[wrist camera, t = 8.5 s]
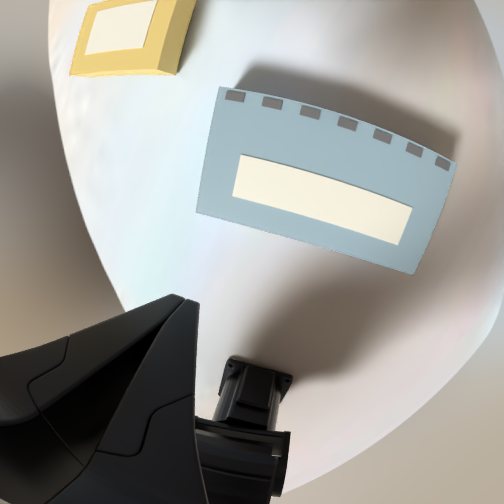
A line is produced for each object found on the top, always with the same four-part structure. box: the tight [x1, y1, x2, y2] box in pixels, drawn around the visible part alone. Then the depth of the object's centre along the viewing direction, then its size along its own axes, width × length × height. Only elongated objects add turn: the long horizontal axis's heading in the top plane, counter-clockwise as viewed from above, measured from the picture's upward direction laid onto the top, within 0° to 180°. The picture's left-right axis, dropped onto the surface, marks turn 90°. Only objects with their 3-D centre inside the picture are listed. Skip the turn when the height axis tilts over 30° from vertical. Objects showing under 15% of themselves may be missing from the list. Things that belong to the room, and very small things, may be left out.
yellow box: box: [69, 0, 196, 77], centre depth 12 cm, size 6×8×3 cm
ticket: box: [196, 87, 457, 275], centre depth 15 cm, size 8×14×3 cm, turn 78°
